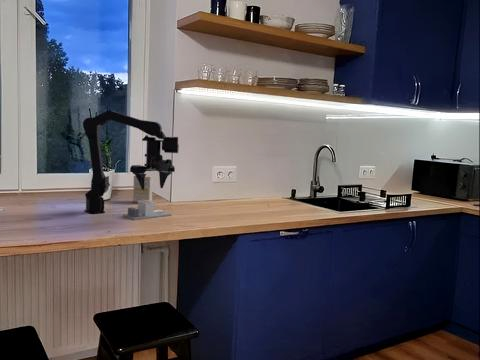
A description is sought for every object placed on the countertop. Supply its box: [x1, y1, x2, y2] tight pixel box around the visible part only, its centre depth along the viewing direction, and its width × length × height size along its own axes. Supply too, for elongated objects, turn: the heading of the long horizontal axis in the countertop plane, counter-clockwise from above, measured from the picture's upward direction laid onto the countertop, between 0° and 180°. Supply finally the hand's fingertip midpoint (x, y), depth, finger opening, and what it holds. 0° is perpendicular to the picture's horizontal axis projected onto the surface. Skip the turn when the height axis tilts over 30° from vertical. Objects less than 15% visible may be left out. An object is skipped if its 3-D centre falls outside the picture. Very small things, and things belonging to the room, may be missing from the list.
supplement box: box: [132, 175, 154, 204], centre depth 212 cm, size 8×5×13 cm, turn 84°
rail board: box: [122, 207, 172, 221], centre depth 185 cm, size 18×9×4 cm, turn 135°
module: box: [137, 200, 155, 216], centre depth 184 cm, size 4×6×6 cm, turn 45°
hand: (152, 188), depth 185 cm, fingers open, 9 cm apart
